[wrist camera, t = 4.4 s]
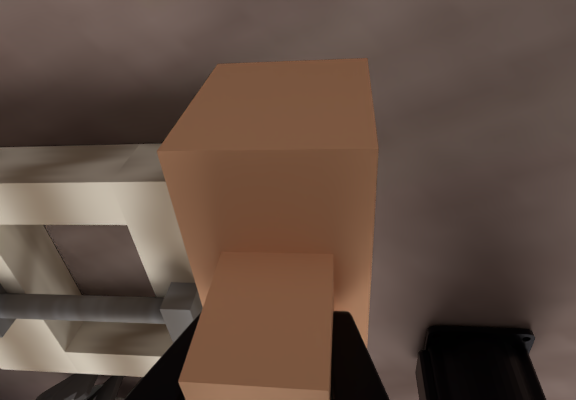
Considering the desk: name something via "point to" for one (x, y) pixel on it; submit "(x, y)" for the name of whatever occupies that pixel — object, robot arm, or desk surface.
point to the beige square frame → (56, 278)
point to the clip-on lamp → (83, 388)
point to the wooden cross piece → (274, 222)
